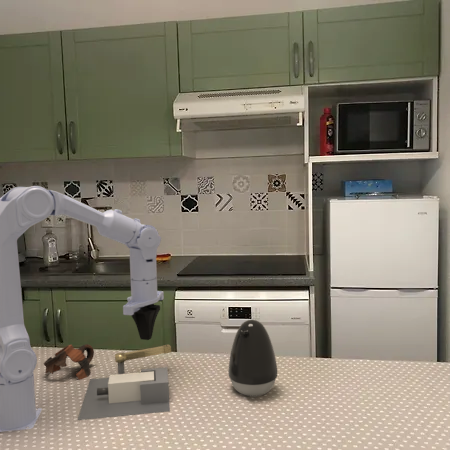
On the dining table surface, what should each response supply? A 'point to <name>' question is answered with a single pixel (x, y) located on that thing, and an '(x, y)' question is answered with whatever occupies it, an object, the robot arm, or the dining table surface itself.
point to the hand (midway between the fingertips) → (145, 338)
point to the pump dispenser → (252, 360)
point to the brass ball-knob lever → (142, 353)
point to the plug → (125, 386)
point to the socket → (150, 401)
